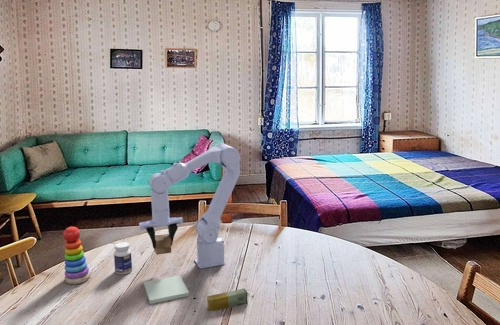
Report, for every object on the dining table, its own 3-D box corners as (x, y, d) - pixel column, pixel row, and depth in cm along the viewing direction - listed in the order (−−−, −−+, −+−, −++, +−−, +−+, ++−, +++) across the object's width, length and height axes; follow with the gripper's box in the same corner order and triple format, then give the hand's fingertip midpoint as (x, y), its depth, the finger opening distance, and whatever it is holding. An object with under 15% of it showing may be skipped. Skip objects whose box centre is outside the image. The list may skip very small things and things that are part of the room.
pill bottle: (127, 275, 141) (125, 248, 139) (112, 274, 142) (109, 247, 140) (135, 268, 147) (133, 242, 145) (120, 266, 148) (118, 240, 146)
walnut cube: (168, 247, 147) (168, 233, 146) (171, 252, 142) (171, 239, 141) (154, 249, 145) (153, 235, 144) (156, 254, 140) (156, 240, 139)
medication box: (245, 300, 126) (244, 287, 126) (248, 304, 124) (247, 292, 123) (207, 308, 122) (206, 295, 122) (209, 312, 120) (208, 300, 119)
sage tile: (180, 278, 139) (180, 275, 139) (188, 295, 128) (188, 292, 128) (143, 285, 135) (143, 282, 135) (149, 304, 124) (149, 300, 124)
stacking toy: (79, 271, 144) (74, 221, 140) (95, 277, 140) (90, 225, 137) (59, 281, 138) (53, 228, 134) (75, 287, 134) (70, 233, 130)
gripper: (178, 202, 146) (180, 238, 149) (137, 207, 141) (139, 244, 144) (183, 208, 140) (185, 245, 143) (139, 214, 135) (142, 252, 138)
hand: (162, 245), depth 143 cm, fingers closed on walnut cube, 5 cm apart
